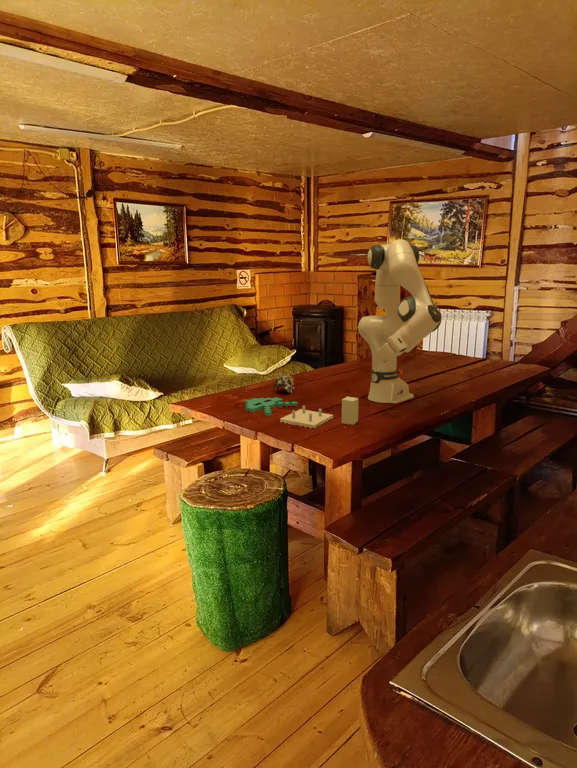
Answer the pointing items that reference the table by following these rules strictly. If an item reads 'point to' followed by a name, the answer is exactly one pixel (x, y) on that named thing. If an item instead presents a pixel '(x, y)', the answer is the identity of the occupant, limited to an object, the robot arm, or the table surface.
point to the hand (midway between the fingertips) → (378, 363)
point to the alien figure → (266, 404)
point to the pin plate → (306, 418)
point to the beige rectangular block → (350, 410)
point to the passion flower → (285, 383)
